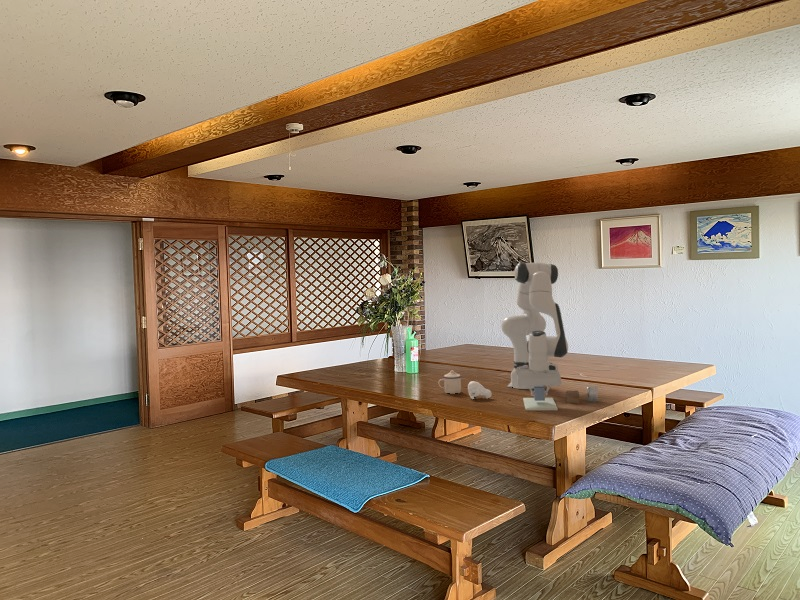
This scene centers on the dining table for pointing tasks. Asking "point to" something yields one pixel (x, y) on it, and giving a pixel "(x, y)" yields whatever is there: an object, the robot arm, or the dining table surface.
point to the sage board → (539, 404)
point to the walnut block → (573, 396)
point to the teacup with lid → (451, 383)
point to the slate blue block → (539, 393)
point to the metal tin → (592, 393)
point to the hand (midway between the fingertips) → (539, 395)
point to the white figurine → (478, 390)
